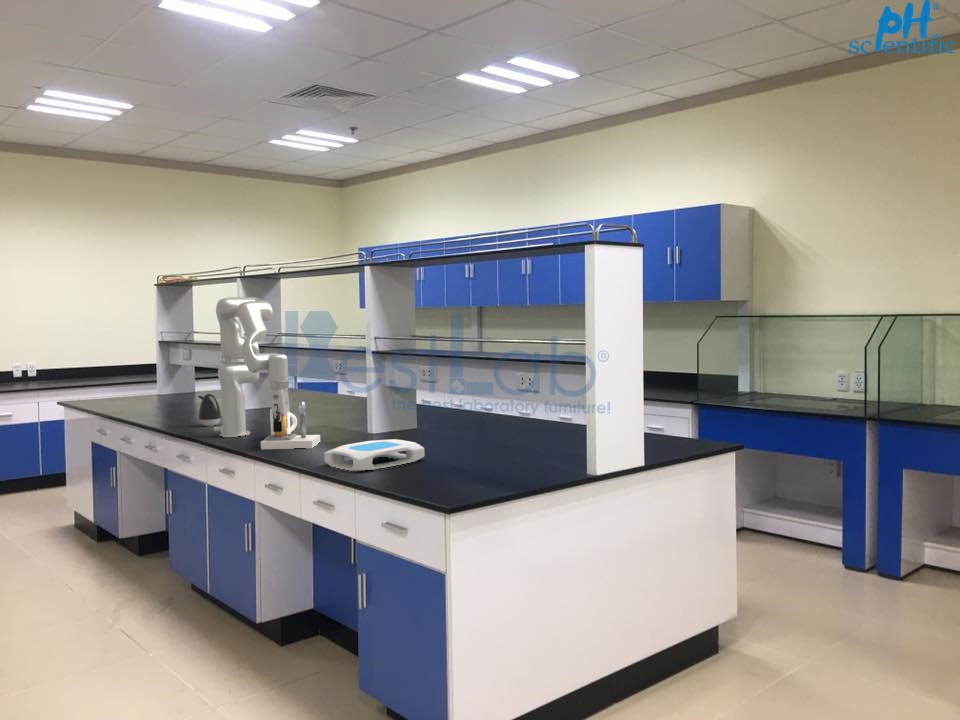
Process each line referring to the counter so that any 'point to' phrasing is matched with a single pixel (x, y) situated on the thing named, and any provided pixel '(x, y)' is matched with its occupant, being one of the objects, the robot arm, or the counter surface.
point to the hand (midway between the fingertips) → (280, 429)
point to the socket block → (290, 442)
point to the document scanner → (373, 454)
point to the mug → (289, 415)
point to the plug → (284, 427)
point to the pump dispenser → (209, 410)
